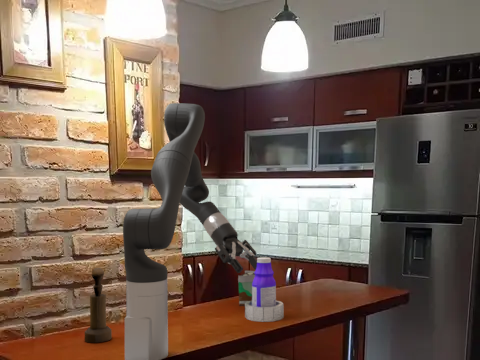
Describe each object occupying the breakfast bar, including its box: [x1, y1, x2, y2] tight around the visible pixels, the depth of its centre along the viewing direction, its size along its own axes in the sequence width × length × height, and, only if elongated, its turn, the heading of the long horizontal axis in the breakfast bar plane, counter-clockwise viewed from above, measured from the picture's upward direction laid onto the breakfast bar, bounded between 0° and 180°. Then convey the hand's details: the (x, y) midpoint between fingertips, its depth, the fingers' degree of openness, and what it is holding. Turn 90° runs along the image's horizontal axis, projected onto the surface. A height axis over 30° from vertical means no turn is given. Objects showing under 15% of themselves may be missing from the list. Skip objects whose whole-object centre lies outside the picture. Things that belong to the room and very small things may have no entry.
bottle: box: [252, 256, 277, 307], centre depth 151 cm, size 7×6×17 cm
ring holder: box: [244, 300, 285, 323], centre depth 150 cm, size 11×11×4 cm
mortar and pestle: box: [84, 267, 113, 344], centre depth 129 cm, size 7×6×18 cm
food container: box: [237, 270, 255, 307], centre depth 170 cm, size 12×6×10 cm, turn 168°
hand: (249, 269), depth 154 cm, fingers open, 8 cm apart
